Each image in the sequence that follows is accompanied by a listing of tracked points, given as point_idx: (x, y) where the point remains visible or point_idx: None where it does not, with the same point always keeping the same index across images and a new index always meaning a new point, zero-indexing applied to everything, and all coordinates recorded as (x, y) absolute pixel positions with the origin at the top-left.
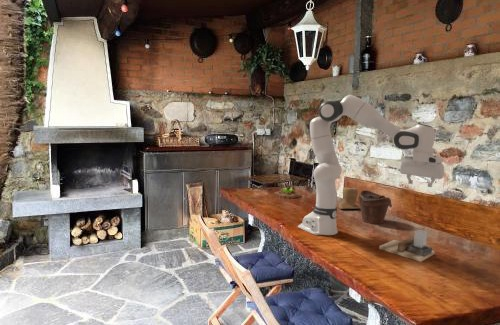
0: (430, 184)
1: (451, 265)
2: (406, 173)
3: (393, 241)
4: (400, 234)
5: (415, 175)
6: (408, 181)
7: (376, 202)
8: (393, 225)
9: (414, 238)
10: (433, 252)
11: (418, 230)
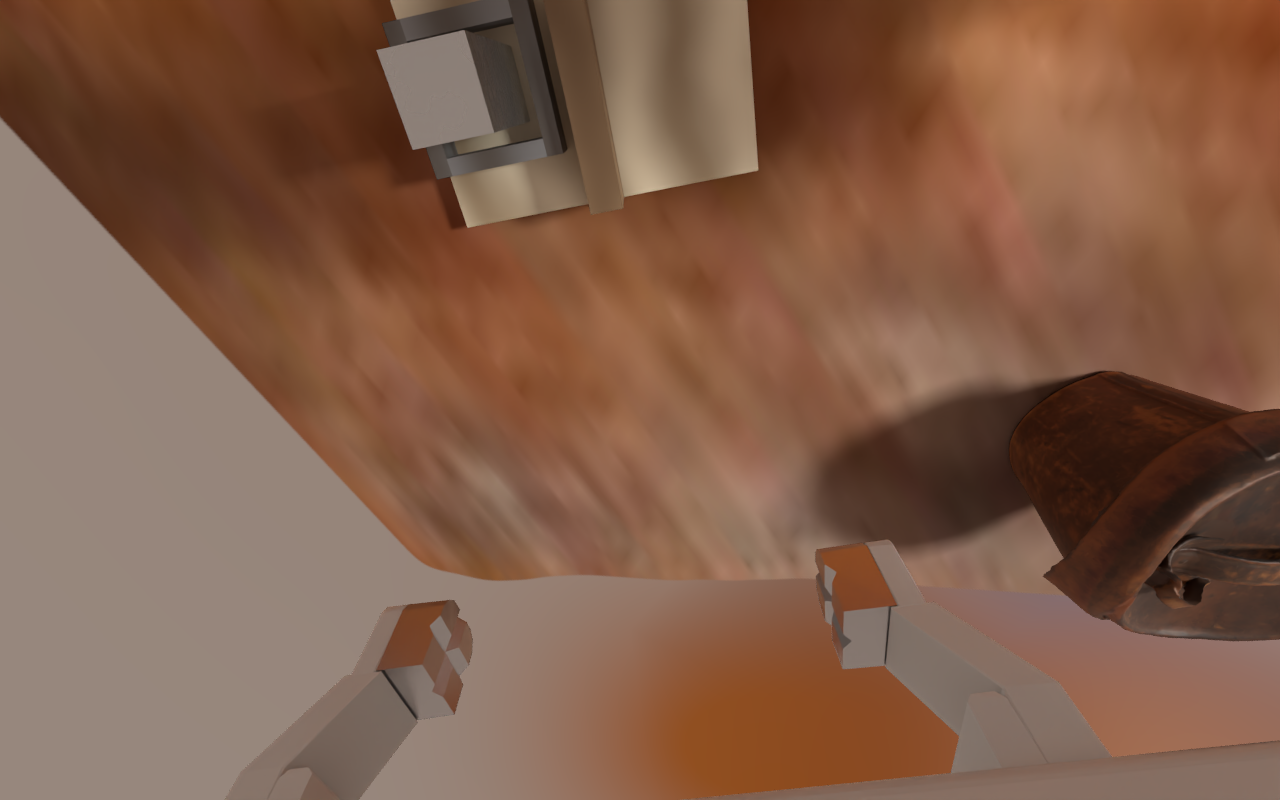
0: (369, 653)
1: (281, 128)
2: (1160, 792)
3: (736, 122)
4: (817, 362)
5: (756, 797)
6: (907, 574)
7: (1181, 479)
8: (934, 470)
9: (482, 38)
10: (462, 207)
11: (471, 100)
